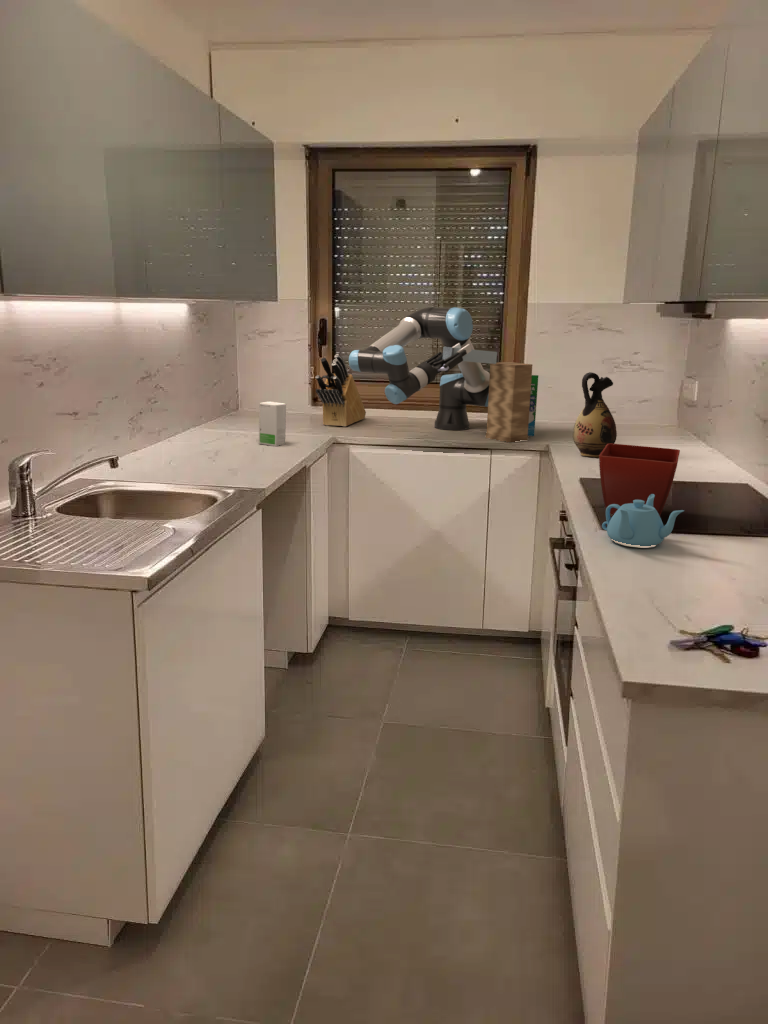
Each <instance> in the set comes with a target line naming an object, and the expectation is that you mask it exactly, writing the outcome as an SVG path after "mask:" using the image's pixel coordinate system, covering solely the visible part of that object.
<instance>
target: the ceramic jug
mask: <svg viewBox="0 0 768 1024" xmlns="http://www.w3.org/2000/svg"><path fill="white" fill-rule="evenodd" d="M590 379H591V380H592V379H593V382H592V384H591V386H590V387H589V386H588V381H589V380H590ZM613 385H614V382H613V380H612V379H611V378H610V377H608V376H605V377H603V376H601V377H600V376H599V374H597V373H595V372H592V371H591V372H590V371H589V372H587V373H584V375H583V376H582V379H581V388H582V390H583V391H582V393H583V397H584V404H585V405H584V407H583V408H582V410H581V411H580V413H579V414H578V416H577V418H576V420H575V423H574V426H573V429H572V430H573V431H572V440H573V443H574V445H575V446H576V447H577V449H578V451H579V452H580V453H579V454H580V456H582V457H583V456H584V457H591V458H599V455H600V453H601V452H602V451H603V449H604V448H605V446H606V445H607V444H610V443H612V444H616V440H617V437H618V435H617V434H618V433H617V432H618V431H617V426H616V425H617V424H616V422H615V418H614V416H613V414H612V412H611V411H610V408H609V407H608V405H607V404H606V402H605V401H604V398H603V394H602V392H603V391H604V390H606V389H608V388H610V387H612V386H613ZM590 392H592V393H591V396H590Z"/></svg>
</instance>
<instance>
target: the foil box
mask: <svg viewBox="0 0 768 1024" xmlns="http://www.w3.org/2000/svg"><path fill="white" fill-rule="evenodd" d="M460 349H462V348H453V347H445V346H443V347H442V353H443V357H442V359H443V360H445V359H447V358H448V357H450V356H452V355H454V354H456V353H457V351H459V350H460ZM497 356H498V351H491V350H481V349H480V350H479V349H475V350H472V349H471V352H469V353H468V354H466V355H465V356H463V361H467V362H479V363H481V364H489V365H490V364H496V362H497V358H498V357H497Z"/></svg>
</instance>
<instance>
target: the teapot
mask: <svg viewBox="0 0 768 1024" xmlns="http://www.w3.org/2000/svg"><path fill="white" fill-rule="evenodd" d="M654 497H655V495H654V494H651V495H650V496H649V497H648V500H647V502H646V505H645V504H644V503H645V501H643V500H633V503H628V504H623V505H622V506H619V505H617V504H611V505H609V506H608V507H607V508H606V509H605V520H606V521H604V522H603V523H602V524H601V528H602V529H603V531H606V534H607V536H608V537H610V538H611V539H613V540H615V541H618V542H622V543H626V544H631V545H640V546H651V545H657V544H659V543H660V544H661V543H662V542H663V541H664V540H665V538H667V537H668V536H670V535H671V533H672V531H673V530H674V527H675V522H676V518H677V517H678V515H680V514H682V513H683V512H685V509H684V510H683V509H680V510H679V509H678V510H673V511H672V512H671V513H670V514H669V517H668V519H667V522H666V524H664V523H663V521H662V517H661V515H660V516H659V514H658V512H657V511H656V509H655V508H654V507H653V501H654ZM612 507H614V508H617V509H618V510H617V511H616V512H615V514H614V515H613V516H610V509H611V508H612ZM610 538H609V539H610ZM611 539H610V540H611ZM660 544H659V545H660ZM657 546H658V545H657Z"/></svg>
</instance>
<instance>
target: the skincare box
mask: <svg viewBox="0 0 768 1024" xmlns="http://www.w3.org/2000/svg"><path fill="white" fill-rule="evenodd" d="M258 406H259V407H258V443H259V445H265V446H271V447H279V445H280V446H284V445H286V437H287V436H286V434H287V433H286V428H287V427H286V426H287V424H286V423H287V404H286V403H283V402H276V401H270V400H269V401H264V402H259V405H258Z"/></svg>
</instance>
